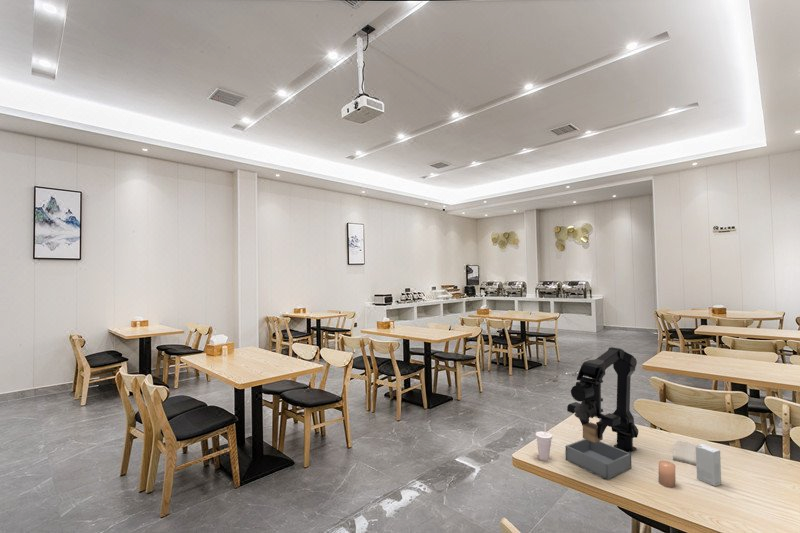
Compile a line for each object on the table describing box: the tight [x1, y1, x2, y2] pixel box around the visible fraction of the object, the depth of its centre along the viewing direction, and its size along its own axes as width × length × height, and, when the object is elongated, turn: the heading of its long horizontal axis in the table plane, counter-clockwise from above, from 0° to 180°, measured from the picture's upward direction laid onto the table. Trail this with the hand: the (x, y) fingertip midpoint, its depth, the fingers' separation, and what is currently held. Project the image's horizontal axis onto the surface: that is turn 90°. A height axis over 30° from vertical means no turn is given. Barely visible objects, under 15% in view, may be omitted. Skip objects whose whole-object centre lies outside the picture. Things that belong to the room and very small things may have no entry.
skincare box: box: [696, 443, 722, 487], centre depth 144 cm, size 6×4×12 cm
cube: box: [582, 421, 604, 443], centre depth 154 cm, size 5×5×5 cm
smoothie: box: [534, 423, 553, 462], centre depth 161 cm, size 6×6×14 cm
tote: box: [565, 438, 632, 481], centre depth 156 cm, size 15×17×6 cm
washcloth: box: [672, 440, 697, 467], centre depth 162 cm, size 12×18×3 cm, turn 141°
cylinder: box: [658, 460, 676, 489], centre depth 143 cm, size 5×5×7 cm
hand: (592, 436), depth 154 cm, fingers closed on cube, 5 cm apart
